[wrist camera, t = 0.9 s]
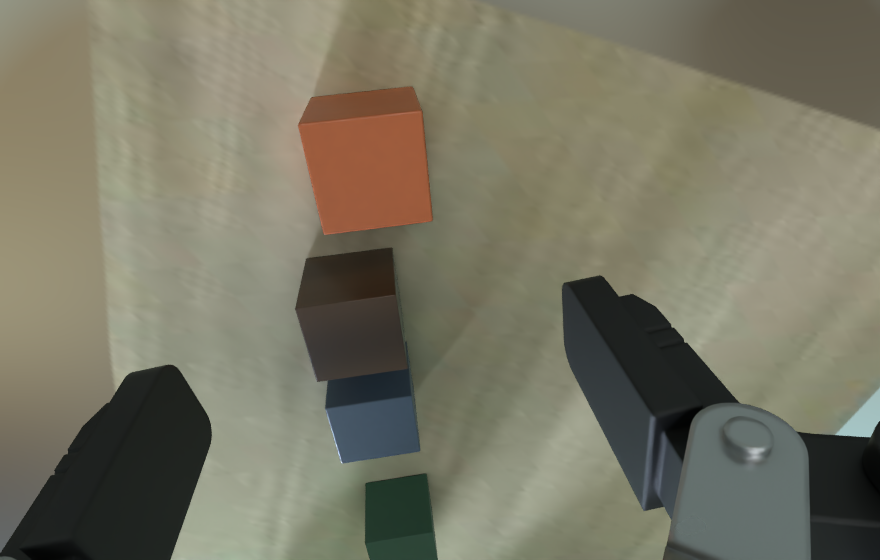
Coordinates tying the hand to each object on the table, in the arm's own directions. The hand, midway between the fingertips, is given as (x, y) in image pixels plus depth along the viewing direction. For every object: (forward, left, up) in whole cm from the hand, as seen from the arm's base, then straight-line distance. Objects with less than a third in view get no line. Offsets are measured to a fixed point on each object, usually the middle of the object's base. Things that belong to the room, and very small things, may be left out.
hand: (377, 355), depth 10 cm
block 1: (0, 0, -15) cm, 15 cm away
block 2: (+8, -2, -15) cm, 17 cm away
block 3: (+14, -2, -15) cm, 21 cm away
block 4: (+27, -2, -15) cm, 31 cm away
